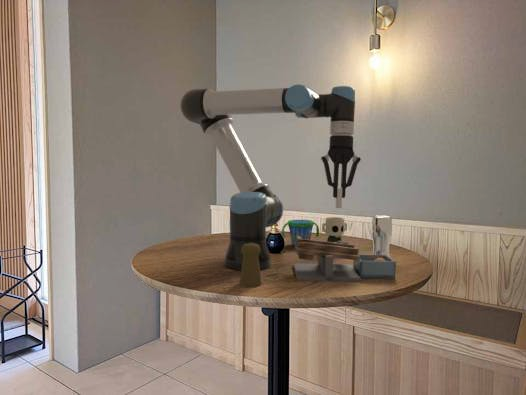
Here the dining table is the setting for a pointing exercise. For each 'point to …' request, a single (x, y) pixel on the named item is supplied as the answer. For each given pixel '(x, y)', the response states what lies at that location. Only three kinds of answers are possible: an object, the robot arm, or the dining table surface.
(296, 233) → the snack cup
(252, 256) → the brown upright piece
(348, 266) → the lever base
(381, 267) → the cup
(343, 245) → the tilt lever
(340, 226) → the character mug
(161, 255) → the dining table surface
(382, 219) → the beer glass
